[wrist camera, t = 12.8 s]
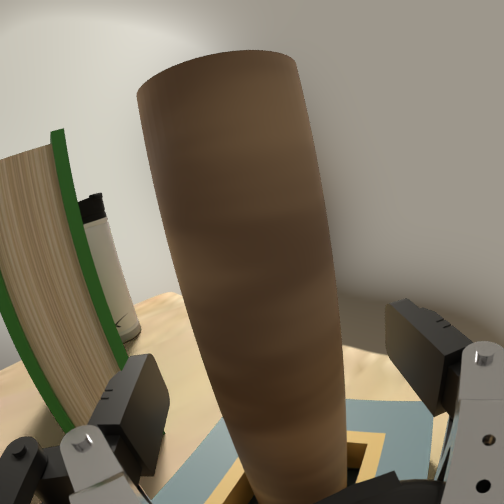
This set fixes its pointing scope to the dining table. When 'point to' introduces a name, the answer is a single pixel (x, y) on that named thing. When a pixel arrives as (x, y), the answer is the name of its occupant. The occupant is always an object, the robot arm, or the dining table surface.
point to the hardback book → (54, 285)
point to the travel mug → (108, 266)
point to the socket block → (358, 454)
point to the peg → (254, 262)
